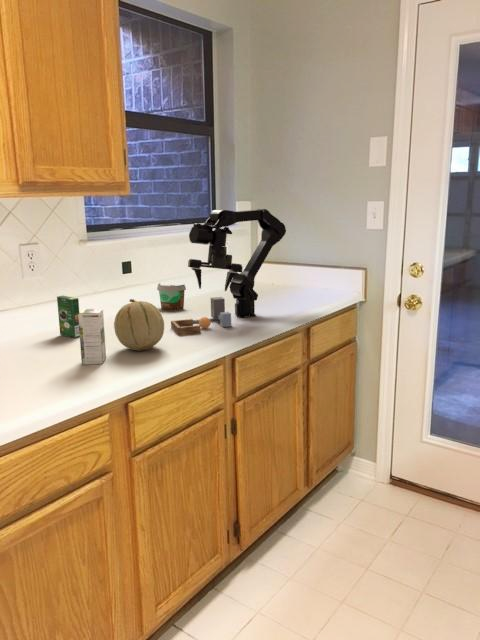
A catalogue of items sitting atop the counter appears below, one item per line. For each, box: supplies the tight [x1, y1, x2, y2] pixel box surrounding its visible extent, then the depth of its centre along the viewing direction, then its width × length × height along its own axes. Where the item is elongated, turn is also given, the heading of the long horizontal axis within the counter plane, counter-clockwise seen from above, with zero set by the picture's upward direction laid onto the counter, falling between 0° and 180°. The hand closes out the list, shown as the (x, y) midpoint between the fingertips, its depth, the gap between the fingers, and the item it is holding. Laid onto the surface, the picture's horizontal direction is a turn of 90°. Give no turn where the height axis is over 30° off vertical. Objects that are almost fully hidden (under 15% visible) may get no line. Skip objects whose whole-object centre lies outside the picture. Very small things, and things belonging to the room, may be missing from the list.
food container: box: [156, 282, 187, 312], centre depth 213 cm, size 12×6×10 cm, turn 68°
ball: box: [198, 316, 212, 330], centre depth 182 cm, size 4×4×4 cm
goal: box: [170, 318, 202, 336], centre depth 180 cm, size 8×11×2 cm
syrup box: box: [78, 307, 107, 366], centre depth 146 cm, size 6×6×14 cm
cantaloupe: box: [113, 298, 165, 352], centre depth 157 cm, size 15×15×15 cm
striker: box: [210, 296, 232, 328], centre depth 188 cm, size 4×12×8 cm, turn 19°
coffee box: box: [56, 295, 80, 339], centre depth 174 cm, size 8×3×13 cm, turn 54°
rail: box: [193, 317, 220, 325], centre depth 191 cm, size 15×1×1 cm, turn 109°
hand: (212, 290), depth 189 cm, fingers open, 9 cm apart
